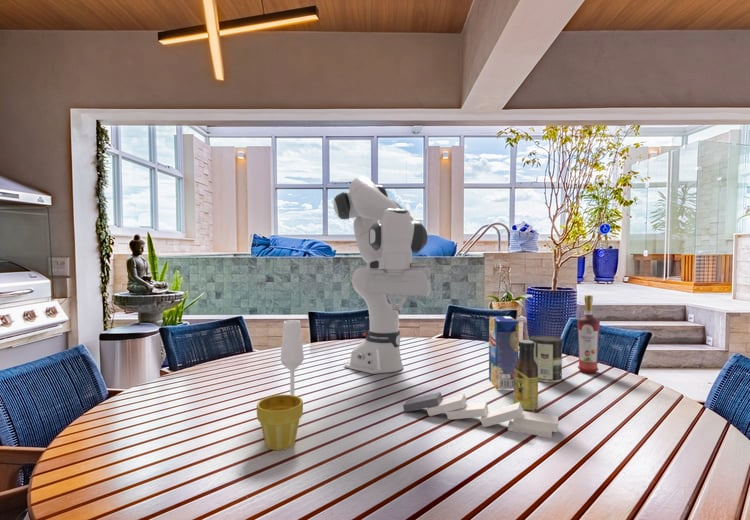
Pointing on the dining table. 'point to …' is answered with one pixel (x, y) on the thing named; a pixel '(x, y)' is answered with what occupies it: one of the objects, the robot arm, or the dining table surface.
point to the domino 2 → (448, 405)
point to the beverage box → (503, 350)
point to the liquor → (588, 339)
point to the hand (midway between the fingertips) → (397, 310)
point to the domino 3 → (469, 411)
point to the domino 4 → (502, 414)
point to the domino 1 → (423, 402)
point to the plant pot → (279, 420)
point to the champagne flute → (292, 349)
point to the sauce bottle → (526, 377)
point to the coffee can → (548, 357)
